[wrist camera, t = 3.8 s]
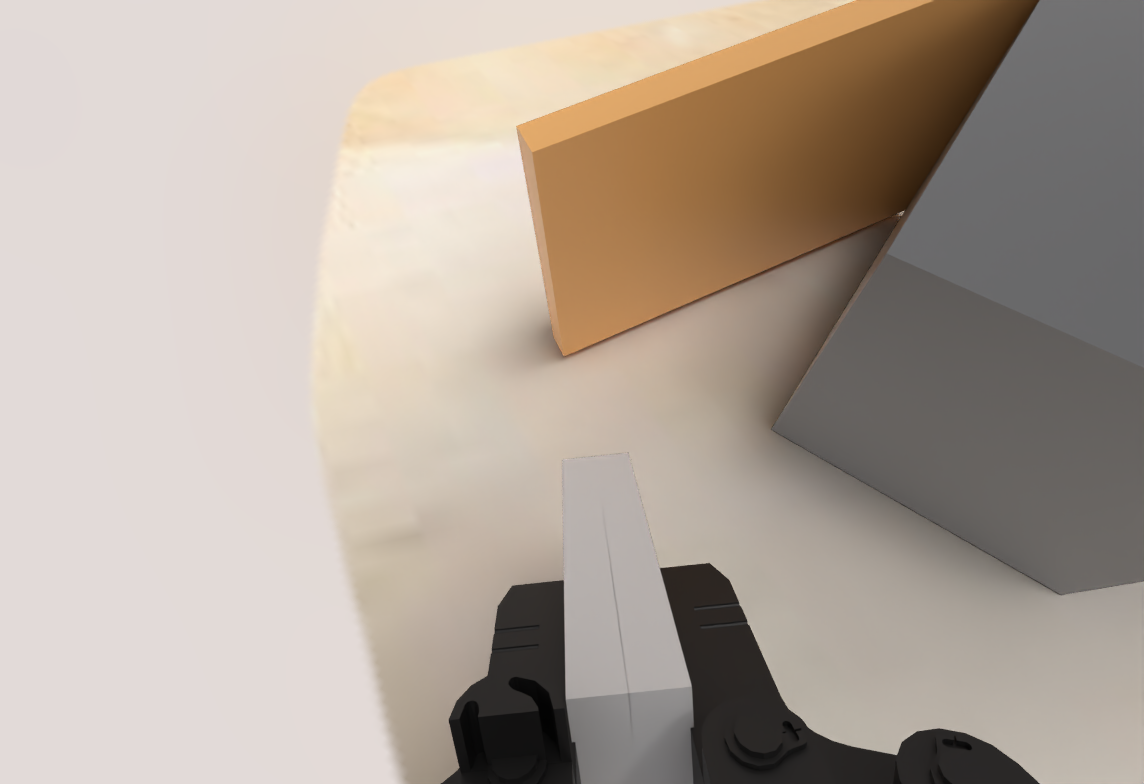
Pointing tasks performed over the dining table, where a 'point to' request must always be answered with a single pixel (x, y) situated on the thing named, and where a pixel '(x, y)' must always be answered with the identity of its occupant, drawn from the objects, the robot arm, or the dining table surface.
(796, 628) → the dining table surface
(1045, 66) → the block
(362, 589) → the dining table surface
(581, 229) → the side door
